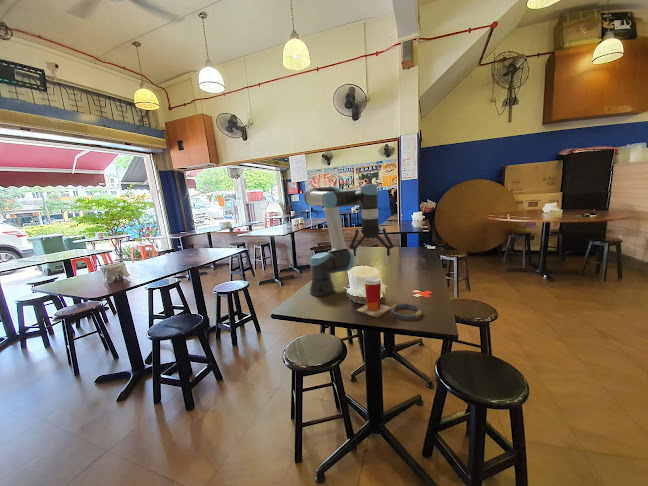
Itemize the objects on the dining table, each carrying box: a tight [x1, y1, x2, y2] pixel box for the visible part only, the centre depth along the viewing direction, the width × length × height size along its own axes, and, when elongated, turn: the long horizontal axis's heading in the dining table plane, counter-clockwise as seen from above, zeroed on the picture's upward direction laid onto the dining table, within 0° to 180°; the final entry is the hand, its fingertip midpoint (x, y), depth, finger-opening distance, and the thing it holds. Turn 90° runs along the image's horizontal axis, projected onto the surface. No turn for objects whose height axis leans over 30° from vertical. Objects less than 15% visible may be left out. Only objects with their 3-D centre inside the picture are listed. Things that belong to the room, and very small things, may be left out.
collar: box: [389, 302, 422, 321], centre depth 117 cm, size 13×13×2 cm
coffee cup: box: [363, 276, 382, 311], centre depth 122 cm, size 8×8×15 cm
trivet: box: [356, 303, 391, 318], centre depth 123 cm, size 12×12×1 cm
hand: (371, 262), depth 119 cm, fingers open, 13 cm apart
